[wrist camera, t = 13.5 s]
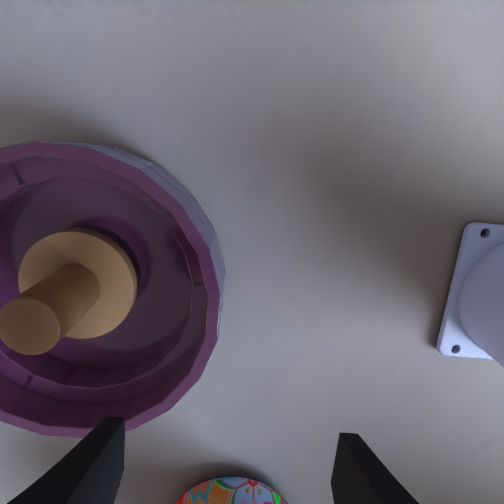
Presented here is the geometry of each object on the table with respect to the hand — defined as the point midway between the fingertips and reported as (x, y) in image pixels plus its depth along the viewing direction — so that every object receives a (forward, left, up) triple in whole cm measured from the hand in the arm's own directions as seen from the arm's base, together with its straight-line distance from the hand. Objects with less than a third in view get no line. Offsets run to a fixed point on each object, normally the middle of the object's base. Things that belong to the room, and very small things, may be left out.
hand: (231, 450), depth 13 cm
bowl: (+8, -2, -10) cm, 13 cm away
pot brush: (+8, -2, -10) cm, 13 cm away
